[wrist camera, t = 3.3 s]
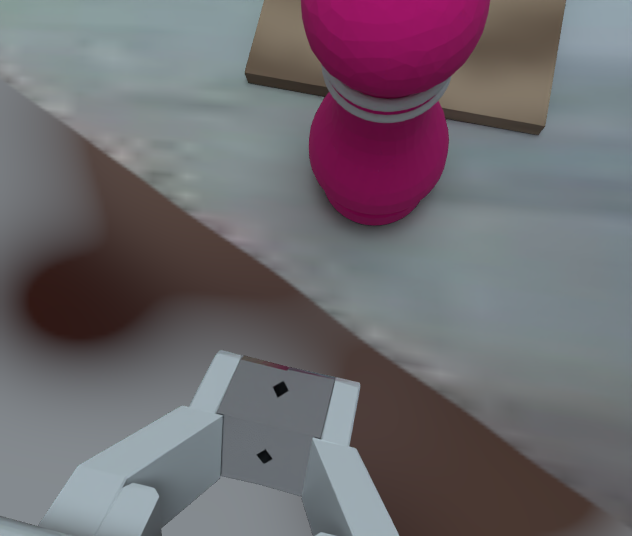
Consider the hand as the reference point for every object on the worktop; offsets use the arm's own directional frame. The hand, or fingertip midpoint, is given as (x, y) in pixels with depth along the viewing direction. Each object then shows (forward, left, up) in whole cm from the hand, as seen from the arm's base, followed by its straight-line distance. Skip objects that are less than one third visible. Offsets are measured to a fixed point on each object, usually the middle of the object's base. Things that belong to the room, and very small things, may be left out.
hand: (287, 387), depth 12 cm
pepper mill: (-4, -12, -20) cm, 24 cm away
